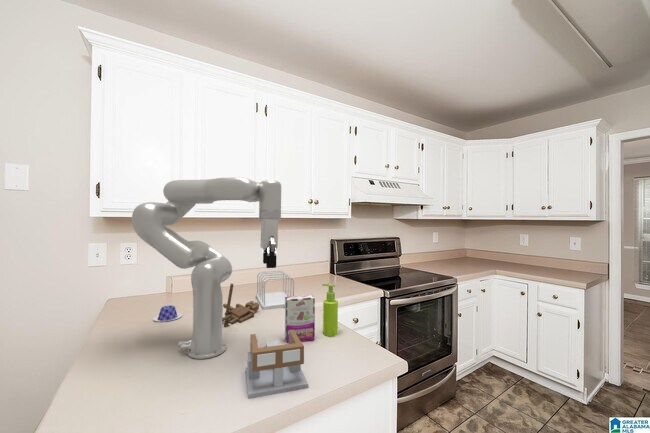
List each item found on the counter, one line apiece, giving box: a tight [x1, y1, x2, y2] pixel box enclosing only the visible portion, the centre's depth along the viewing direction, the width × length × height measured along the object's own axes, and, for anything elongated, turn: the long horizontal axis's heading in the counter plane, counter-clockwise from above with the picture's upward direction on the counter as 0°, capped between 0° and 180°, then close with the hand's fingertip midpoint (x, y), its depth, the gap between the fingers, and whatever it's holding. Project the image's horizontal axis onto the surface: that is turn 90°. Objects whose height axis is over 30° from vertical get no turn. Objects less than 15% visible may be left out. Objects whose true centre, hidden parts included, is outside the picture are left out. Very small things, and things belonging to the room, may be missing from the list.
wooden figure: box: [222, 282, 260, 329], centre depth 131 cm, size 14×18×25 cm
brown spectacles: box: [249, 330, 305, 372], centre depth 83 cm, size 14×13×5 cm
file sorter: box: [255, 270, 295, 310], centre depth 160 cm, size 25×17×16 cm
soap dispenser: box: [322, 283, 339, 338], centre depth 116 cm, size 6×7×20 cm
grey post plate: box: [245, 340, 309, 399], centre depth 82 cm, size 16×14×8 cm
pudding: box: [152, 305, 183, 322], centre depth 131 cm, size 12×12×5 cm
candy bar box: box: [284, 294, 316, 344], centre depth 110 cm, size 11×5×16 cm, turn 105°
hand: (269, 265), depth 98 cm, fingers open, 9 cm apart
